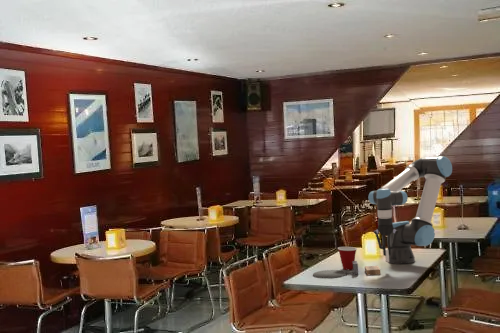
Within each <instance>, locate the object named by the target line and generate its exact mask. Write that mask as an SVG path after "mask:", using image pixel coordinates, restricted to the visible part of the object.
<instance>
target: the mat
mask: <svg viewBox="0 0 500 333" xmlns="http://www.w3.org/2000/svg"><path fill="white" fill-rule="evenodd" d="M346 275H347V271H346V270H345V271H344V270H341V269H340V270H338V269H327V270H318V271H316V272H313V273H312V277H314V278H317V279H335V278H336V279H337V278H341V277H345V276H346Z"/></svg>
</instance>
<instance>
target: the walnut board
mask: <svg viewBox="0 0 500 333" xmlns="http://www.w3.org/2000/svg"><path fill="white" fill-rule="evenodd" d="M364 272H365V274H366V275H367V276H374V275H376V276H377V275H381V269H380V267H379V266H378V265H368V266H364Z"/></svg>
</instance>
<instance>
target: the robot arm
mask: <svg viewBox="0 0 500 333" xmlns="http://www.w3.org/2000/svg"><path fill="white" fill-rule="evenodd" d="M452 173H453V165H452V162H451V160H450V159H449V158H448V157H446V156H441V155H440V156H425V157H421V158H418V159H416V160H414V161H412V162H411V163H410V164H408V165H407V166H406V167H405V168H404V170H403V171H402V172H401V173H399V174H398V175H397V176H395V177H393V179H391V180H390V181H388V182H387V183H386V184H384V185H383V186H381V187H380V188H379V189H377V190H372V191H370V192H369V194H368V197H367V198H368V201H369V203H370V204H372V205H376V206H377V207H376V208H377V218H378V219H377V225H378V226H377V229H376V230H373V234H374V235H375V238H376V240H377V244H378V247H379V248H380V249H381V250H382V253H383V254H382V255H383V257H384V258H385V262H386V263H389V264H397V265H402V264H404V265H405V264H411V263H412V264H413V263H414V262H416V257H415V255H414V252H413V249H412V246H418V247H427V246H429V245H431V244H432V243H433V241H434V239H435V235H436V233H435V229H434V227H433V226H434V225H433V222H432V218H433V215H434V211H435V208H436V204H437V201H438V197H439V193H440V189H441V186H442V184H443V183H444V182H446V178H448V177H450V176H451V175H452ZM420 178H425V182H424V186H423V190H422V192H421V193H422V194H421V197H420V200H419V203H418V208H417V210H416V215H415V217H414V218H412V219H411V222H410V221H409V220H405V221H396V222H393V208H392V207H393V206H402V205H405V204H406V203H407V202H408V200H409V199H408V194H407V192H405V191H403V190H402V189H404V188H405V187H406V186H408V185H409V184H410V183H411V182H413V181H417V180H418V179H420ZM379 233H380V234H381V238H382V242H381V240H380V236H379ZM386 239H387V240H386ZM386 241H387V245H386ZM386 247H387V248H386Z"/></svg>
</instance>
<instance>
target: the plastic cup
mask: <svg viewBox="0 0 500 333" xmlns="http://www.w3.org/2000/svg"><path fill="white" fill-rule="evenodd" d="M337 250H338V253H339V256H340V262H341V265H342V269H343V271H344V270H345V271H350V270H353V265H352V261H356V253H357V250H358V248H356V247H353V246H339V247H337Z"/></svg>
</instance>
